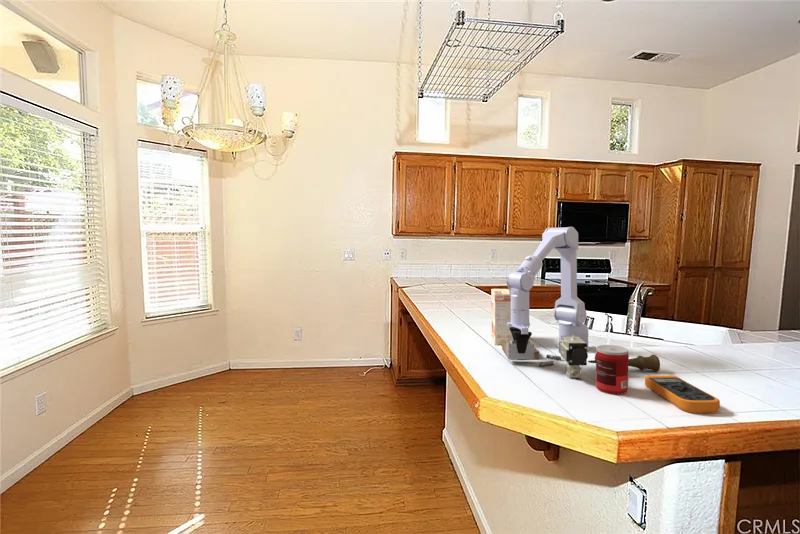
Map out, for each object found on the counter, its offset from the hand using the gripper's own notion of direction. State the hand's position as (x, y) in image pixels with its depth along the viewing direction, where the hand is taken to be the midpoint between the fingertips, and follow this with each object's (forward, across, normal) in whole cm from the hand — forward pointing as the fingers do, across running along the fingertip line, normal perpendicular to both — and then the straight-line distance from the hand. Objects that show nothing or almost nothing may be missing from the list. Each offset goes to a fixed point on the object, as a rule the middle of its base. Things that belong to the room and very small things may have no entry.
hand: (520, 351), depth 134 cm
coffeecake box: (+4, -29, -1) cm, 29 cm away
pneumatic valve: (+4, +13, +12) cm, 18 cm away
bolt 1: (+3, +4, +8) cm, 9 cm away
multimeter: (+4, +29, +33) cm, 44 cm away
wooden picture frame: (+4, -10, +2) cm, 11 cm away
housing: (+2, 0, 0) cm, 2 cm away
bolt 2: (+3, -4, +11) cm, 12 cm away
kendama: (+4, +8, +28) cm, 30 cm away
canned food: (+4, +23, +19) cm, 30 cm away
